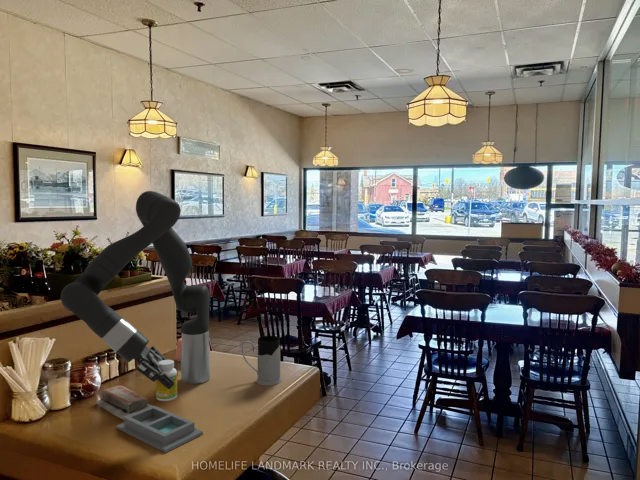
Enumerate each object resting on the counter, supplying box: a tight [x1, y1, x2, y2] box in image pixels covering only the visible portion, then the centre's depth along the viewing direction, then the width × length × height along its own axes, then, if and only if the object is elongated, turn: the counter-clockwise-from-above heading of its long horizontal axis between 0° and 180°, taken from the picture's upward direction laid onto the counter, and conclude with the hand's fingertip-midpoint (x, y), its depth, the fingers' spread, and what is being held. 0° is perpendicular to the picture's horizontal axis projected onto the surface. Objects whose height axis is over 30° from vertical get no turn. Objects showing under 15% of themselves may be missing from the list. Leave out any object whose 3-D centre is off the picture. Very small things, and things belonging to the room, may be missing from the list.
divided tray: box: [116, 405, 204, 454], centre depth 135 cm, size 22×12×3 cm, turn 54°
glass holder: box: [241, 335, 283, 386], centre depth 171 cm, size 9×14×15 cm, turn 80°
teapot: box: [175, 337, 211, 363], centre depth 192 cm, size 12×18×10 cm, turn 170°
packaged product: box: [96, 385, 153, 421], centre depth 151 cm, size 18×5×10 cm
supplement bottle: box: [155, 359, 178, 402], centre depth 131 cm, size 5×5×10 cm
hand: (173, 381), depth 132 cm, fingers closed on supplement bottle, 5 cm apart
